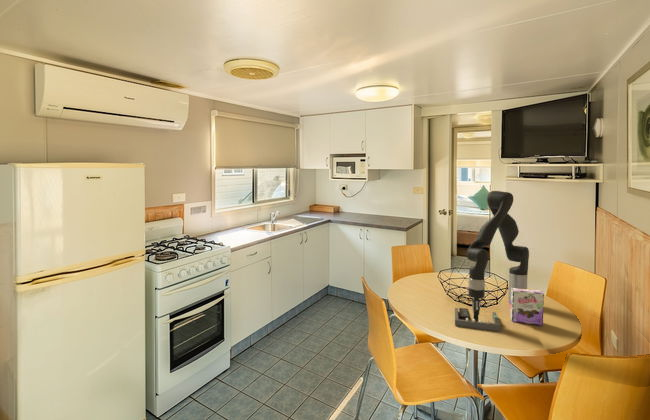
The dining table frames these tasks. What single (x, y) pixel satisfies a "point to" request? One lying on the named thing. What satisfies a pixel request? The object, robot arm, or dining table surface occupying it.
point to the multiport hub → (464, 313)
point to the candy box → (527, 306)
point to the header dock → (478, 323)
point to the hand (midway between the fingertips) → (475, 321)
